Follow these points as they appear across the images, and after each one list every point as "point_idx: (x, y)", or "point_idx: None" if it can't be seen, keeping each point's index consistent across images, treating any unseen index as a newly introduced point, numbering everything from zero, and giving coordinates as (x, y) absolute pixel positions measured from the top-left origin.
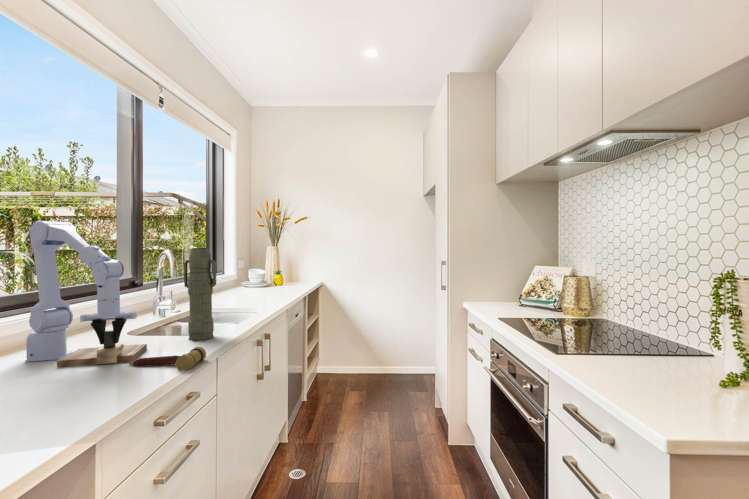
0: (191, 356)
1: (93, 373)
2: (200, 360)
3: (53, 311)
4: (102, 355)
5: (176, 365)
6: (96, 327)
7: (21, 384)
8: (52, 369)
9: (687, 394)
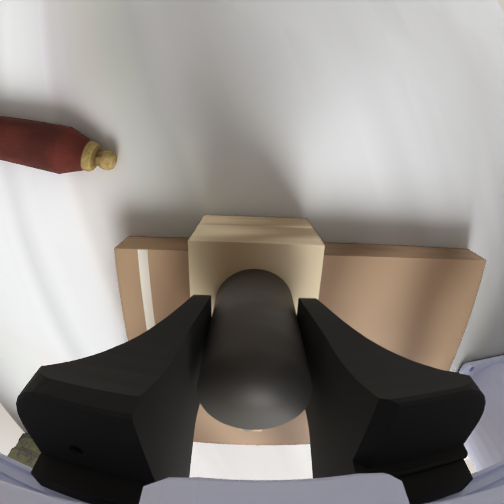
0: None
1: (269, 56)
2: None
3: None
4: (281, 231)
5: None
6: (397, 371)
7: (496, 45)
8: (476, 225)
9: None
